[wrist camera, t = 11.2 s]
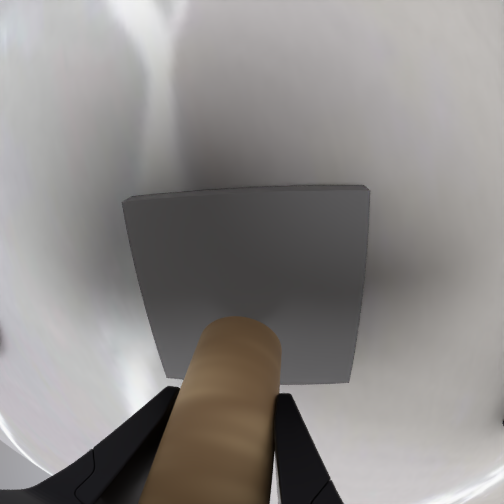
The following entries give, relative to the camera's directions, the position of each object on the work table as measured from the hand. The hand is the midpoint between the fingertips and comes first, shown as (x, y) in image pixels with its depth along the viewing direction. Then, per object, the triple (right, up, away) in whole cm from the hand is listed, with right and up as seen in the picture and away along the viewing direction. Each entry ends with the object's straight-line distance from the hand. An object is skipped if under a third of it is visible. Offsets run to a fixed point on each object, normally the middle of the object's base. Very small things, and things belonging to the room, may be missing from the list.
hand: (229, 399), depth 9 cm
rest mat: (+1, +3, +6) cm, 6 cm away
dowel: (0, +1, +2) cm, 2 cm away
